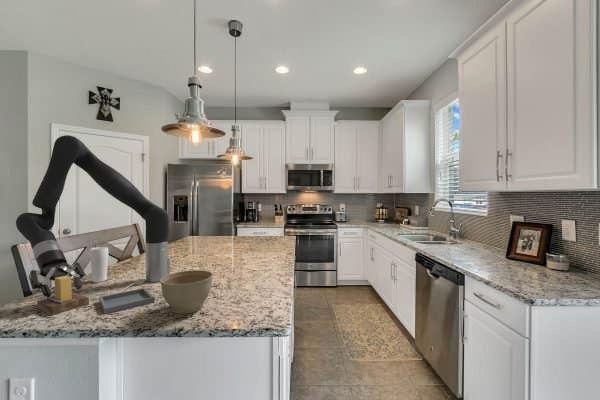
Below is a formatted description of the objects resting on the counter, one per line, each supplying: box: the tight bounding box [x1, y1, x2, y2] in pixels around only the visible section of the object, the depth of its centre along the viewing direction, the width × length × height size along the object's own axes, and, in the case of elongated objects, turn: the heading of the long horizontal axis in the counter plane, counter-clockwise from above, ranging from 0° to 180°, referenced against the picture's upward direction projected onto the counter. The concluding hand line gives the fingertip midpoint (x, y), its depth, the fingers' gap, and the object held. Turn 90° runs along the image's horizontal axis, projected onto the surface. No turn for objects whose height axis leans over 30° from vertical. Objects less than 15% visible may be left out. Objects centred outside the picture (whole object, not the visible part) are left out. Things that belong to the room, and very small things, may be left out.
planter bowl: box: [159, 269, 213, 315], centre depth 92 cm, size 16×16×11 cm
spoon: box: [114, 278, 146, 294], centre depth 113 cm, size 4×21×2 cm, turn 175°
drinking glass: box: [89, 246, 109, 283], centre depth 125 cm, size 7×7×15 cm
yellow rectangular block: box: [54, 276, 73, 302], centre depth 95 cm, size 3×4×10 cm, turn 62°
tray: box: [98, 287, 156, 315], centre depth 98 cm, size 15×15×2 cm
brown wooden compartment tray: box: [36, 291, 90, 316], centre depth 95 cm, size 10×12×3 cm
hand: (64, 291), depth 95 cm, fingers open, 8 cm apart
